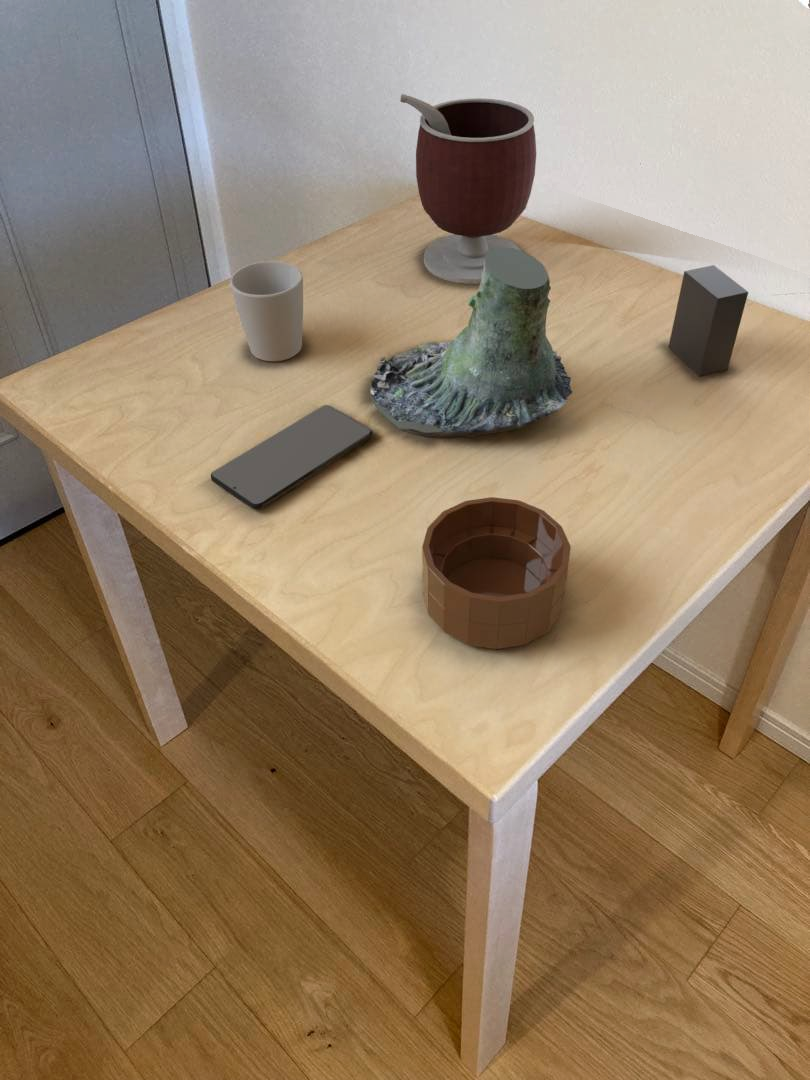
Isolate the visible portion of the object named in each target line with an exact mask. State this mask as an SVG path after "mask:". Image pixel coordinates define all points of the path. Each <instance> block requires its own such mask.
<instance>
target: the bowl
mask: <svg viewBox="0 0 810 1080" xmlns="http://www.w3.org/2000/svg"><path fill="white" fill-rule="evenodd" d="M571 547H572V546H571V544H570V542H569V539H568V537H567V535H566V533H565V530H564V528H563V526H562V525H561V524H560V523H559V522H558V521H556V520H555V518H553V517H552V516H550V514H549V513H547V512H546V511H545V510H543V509H541V508H539V507H536V506H534V505H532V504H529V503H526V502H524V501H522V500H519V499H511V498H503V497H494V496H491V497H483V498H477V499H469V500H465V501H462V502H460V503H458V504H456V505H453V506H452V507H450V508H449V507H448V508H447V509H444V510H443V511H442V512H441V513H440V514H439V515H438V516H437V517H436V518H435V519H434V520H433V521H432V522H431V523H430V524H429V526H428V527H427V528H426V532H425V536H424V538H423V543H422V546H421V552H422V553H421V555H422V556H421V558H422V559H421V561H422V562H421V563H422V597H423V599H424V603H425V607H426V611H427V614H428V616H429V617H430V618H431V619H432V620H433V622H434V623H435V624H436V625H437V626H438V627H439V628H440V629H441V630H442V632H444V634H446V635H448V636H450V637H452V638H454V639H456V640H458V641H460V642H462V643H464V644H466V645H467V646H468V645H469V646H473V647H480V648H486V649H493V650H494V649H495V650H497V649H498V650H501V649H506V648H513V647H518V646H525V645H527V644H529V643H531V642H532V641H534V640H536V639H538V638H540V637H541V636H543V635H546V634H547V633H548V632H550V630H551V628H552V627H553V626H554V625H555V623H556V622H557V620H558V619H559V618H560V616H561V615H562V611H563V604H564V599H565V591H566V586H567V585H566V584H567V578H568V572H569V566H570V565H569V564H570V556H571V549H572V548H571Z"/></svg>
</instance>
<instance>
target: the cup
mask: <svg viewBox="0 0 810 1080" xmlns="http://www.w3.org/2000/svg"><path fill="white" fill-rule="evenodd" d="M229 286H230V289H231V290H230V291H231V292H232V296H233V299H234V304H235V307H236V310H237V313H238V316H239V321H240V323H241V327H242V329H243V332H244V335H245V339H246V341H247V344H248V347H249V351H250V352H251V355H252V356H254V357H255V358H257V359H259V360H261V361H264V362H281V361H282V362H283V361H285V360H289V359H291V358H293V357H295V356H296V355H297V354H299V353H300V352H301V350H302V347H303V329H304V328H303V327H304V324H303V323H304V275H303V273H302V271H301V269H300V268H299V267H297V266H296V265H294V264H292V263H289V262H285V261H279V260H264V261H257V262H253V263H250V264H246V265H244V266H242V267H241V268H239V269H237V270H236V271H235V272H234V273H233V274H231V277H230V279H229Z"/></svg>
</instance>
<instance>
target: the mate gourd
mask: <svg viewBox="0 0 810 1080" xmlns="http://www.w3.org/2000/svg"><path fill="white" fill-rule="evenodd" d="M399 101H400V103H403V104H408V105H409V106H411V107H413V108H414V109H415V110H417V111H418V112H419V113H420V114H421V115H420V117H419V118H420V119H419V126H418V133H417V141H416V148H415V177H416V183H417V191H418V195H419V199H420V202H421V205H422V208H423V210H424V211H425V213H426V214H427V215H428V217H429V218H430V219H431V220H432V221H433V223H434V224H435V225H436V226H437V228H438V229H441V230H442V231H443V232H447V233H449V234H451V235H447V236H443V237H441V238H439V239H436V240H435V241H433V242H432V243H430V244H429V245H428V246H427V247H426V248H425V250H424V253H423V264H424V266H425V268H426V269H427V271H428V272H429V273H431V275H433V276H435V277H437V278H439V279H441V280H444V281H447V282H452V283H456V284H464V285H480V283H481V277H482V273H483V268H484V262H485V256H486V254H487V252H488V251H489V250H491V249H493V248H499V247H506V248H514V249H517V250H520V251H521V249H520V248H519V247H518V245H516V243H514V242H513V241H511V240H509V239H506V238H505V237H502V236H498V235H496V234H499V233H502V232H504V231H506V230H508V229H509V228H510V227H511V226H512V225H513V224H515V222H516V221H517V220H518V218H519V217H520V216H521V215H522V214H523V213H524V211H525V210H526V208H527V205H528V203H529V200H530V197H531V193H532V189H533V185H534V181H535V175H536V165H537V164H536V163H537V141H536V131H535V125H534V123H535V117H534V114H533V113H532V111H530V110H529V109H528V108H526V107H524V106H522V105H520V104H518V103H514V102H511V101H507V100H502V99H495V98H482V97H481V98H479V97H478V98H477V97H476V98H461V99H460V98H459V99H453V100H449V101H445V102H440V103H438V104H435V105H431V103H428V102H425V101H424V100H422V99H419V98H416V97H414V96H411V95H407V94H404V93H401V95H400V100H399Z"/></svg>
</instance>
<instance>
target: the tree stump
mask: <svg viewBox="0 0 810 1080" xmlns="http://www.w3.org/2000/svg"><path fill="white" fill-rule="evenodd" d="M550 281H551V280H550V276H549V273H548V271H547V269H546V268H545V266H544V265H543V263H542V262H541V261H539V260H538V259H537V258H536V257H535V256H533V255H531V254H529V253H528V252H525V251H523V250H521V249H520V250H517V249H514V248H506V247H499V248H493V249H491V250H489V251H488V252H487V254H486V256H485V262H484V268H483V273H482V277H481V283H480V284H479V288H478V291H477V292H476V293H475V294H474V295H472V296H470V297H469V298H468V303H467V305H468V306H470V307H471V308H472V310H471V315H470V318H469V320H468V324H467V326H465V327H464V328H462V330H461V331H460V332H459V333H458V334H457V335H456V337H455V338H454V339H452V340H451V341H448V342H445V341H441V342H439V343H438V342H435V341H432V342H428V343H425V344H420V345H418V346H415V347H413V348H411V349H409V350H407V351H404V352H401V353H400V354H397V355H393V356H391V357H390V358H389V359H388V360H386V357H385V356H384V357H380V361H379V363H378V364H377V367H376V372H375V373H374V374H373V376H372V380H371V385H370V387H369V390H370V397H371V399H372V402H373V404H374V406H375V407H376V409H377V411H378V412H379V413H380V414H382V416H384V417H385V418H386V419H387V420H388V421H389V422H391V424H393V425H394V426H395V427H396V428H397V429H398V430H400V431H402V432H407V433H411V434H414V435H417V436H422V437H426V438H427V437H428V438H429V437H430V438H431V437H434V438H435V437H438V438H439V437H477V436H482V435H489V434H494V433H499V432H500V433H501V432H505V431H512V430H518V429H520V428H523V427H525V426H528V425H531V424H534V423H536V422H539V421H540V420H543V419H544V418H547V417H548V416H551V415H553V414H555V413H558V412H559V411H560V410H562V409H563V407H564V406H566V404H567V403H568V401H567V400H568V397H570V395H572V393H573V390H572V387H571V382H572V376H571V375H569V374H568V372H567V371H566V369H565V366H564V364H563V363H562V356H561V355H558V351H555V350H554V349H553V347H552V345H551V343H550V341H549V340H548V337H547V333H546V332H547V330H546V329H547V326H546V325H547V313H548V309H549V306H550V302H551V300H550V299H549V293H550V291H551V289H552V286H551V285H550V284H551V282H550Z"/></svg>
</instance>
